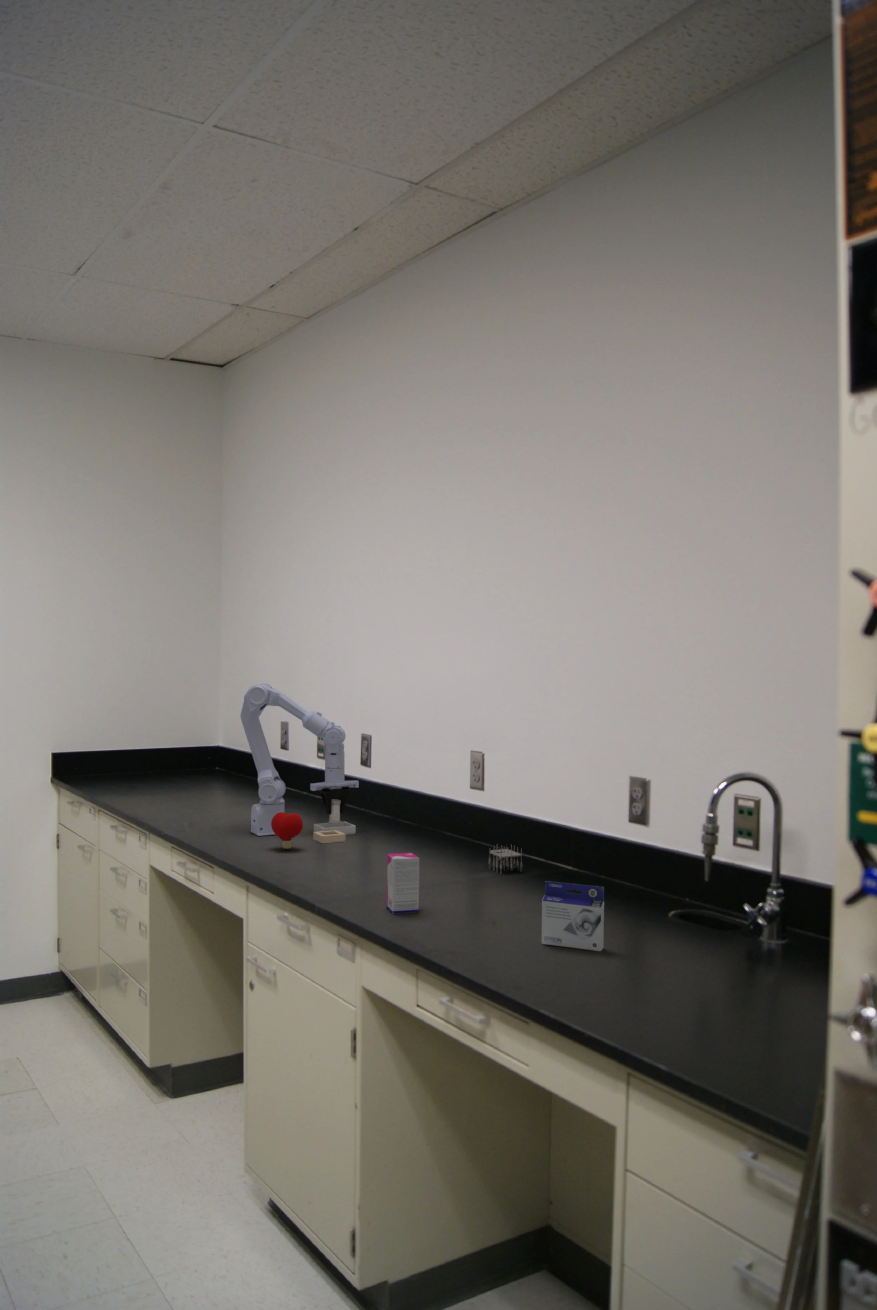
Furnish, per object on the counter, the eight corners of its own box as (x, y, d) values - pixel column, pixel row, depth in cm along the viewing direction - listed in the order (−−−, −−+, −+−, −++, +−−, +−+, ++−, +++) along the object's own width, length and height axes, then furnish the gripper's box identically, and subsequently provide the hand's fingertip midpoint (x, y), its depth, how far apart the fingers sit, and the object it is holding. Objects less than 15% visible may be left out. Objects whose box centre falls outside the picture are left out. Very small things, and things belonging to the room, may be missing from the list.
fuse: (331, 824, 284) (331, 800, 284) (327, 823, 287) (327, 799, 287) (342, 824, 285) (342, 800, 286) (338, 822, 288) (338, 799, 289)
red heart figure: (308, 848, 265) (308, 812, 265) (294, 853, 258) (294, 816, 258) (280, 845, 269) (280, 809, 268) (265, 850, 262) (265, 813, 262)
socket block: (322, 843, 272) (322, 836, 272) (313, 839, 278) (313, 832, 278) (345, 841, 275) (345, 834, 275) (336, 836, 281) (336, 829, 281)
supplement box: (419, 912, 202) (420, 857, 202) (392, 914, 201) (392, 859, 201) (412, 905, 208) (412, 851, 208) (385, 907, 206) (385, 853, 206)
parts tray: (323, 837, 281) (323, 828, 281) (313, 832, 288) (313, 824, 288) (355, 834, 285) (355, 825, 285) (345, 829, 292) (345, 821, 292)
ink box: (540, 945, 180) (540, 883, 180) (543, 941, 183) (544, 880, 183) (602, 952, 176) (602, 889, 176) (604, 948, 179) (605, 886, 178)
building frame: (500, 875, 236) (500, 850, 236) (485, 868, 243) (485, 844, 243) (522, 872, 238) (523, 848, 238) (507, 865, 246) (507, 842, 245)
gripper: (316, 770, 279) (316, 817, 280) (362, 767, 286) (362, 813, 286) (307, 767, 286) (307, 813, 286) (353, 764, 292) (353, 809, 293)
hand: (334, 813), depth 286 cm, fingers closed on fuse, 3 cm apart
